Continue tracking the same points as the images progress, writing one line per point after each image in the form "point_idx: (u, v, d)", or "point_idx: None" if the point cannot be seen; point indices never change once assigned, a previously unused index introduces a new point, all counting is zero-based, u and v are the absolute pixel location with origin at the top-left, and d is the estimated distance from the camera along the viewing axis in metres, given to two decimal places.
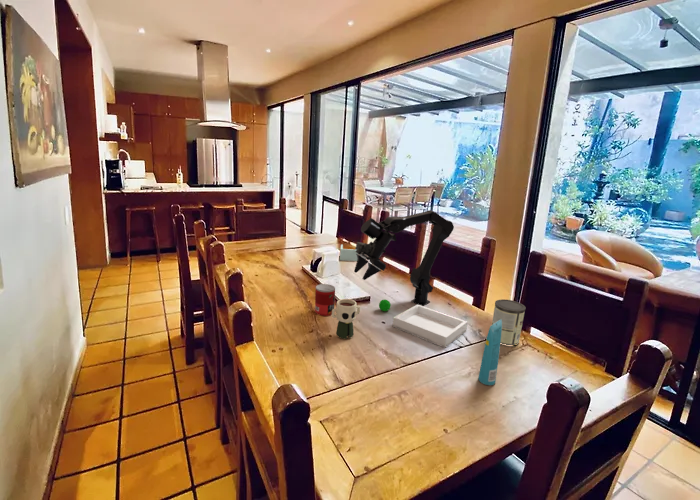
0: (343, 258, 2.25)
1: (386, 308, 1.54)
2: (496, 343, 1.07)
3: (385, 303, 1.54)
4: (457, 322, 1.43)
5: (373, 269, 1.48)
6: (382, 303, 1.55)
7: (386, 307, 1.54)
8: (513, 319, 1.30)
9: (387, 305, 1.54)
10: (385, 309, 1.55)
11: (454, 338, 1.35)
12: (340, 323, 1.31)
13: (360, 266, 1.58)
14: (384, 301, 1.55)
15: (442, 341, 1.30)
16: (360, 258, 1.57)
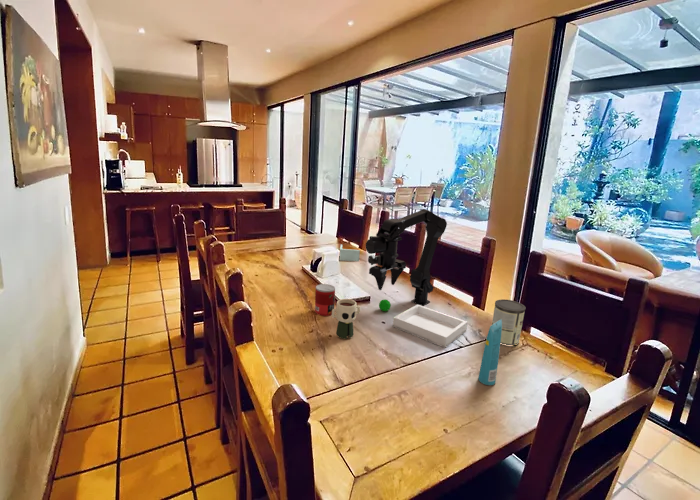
0: (343, 258, 2.25)
1: (386, 308, 1.54)
2: (496, 343, 1.07)
3: (385, 303, 1.54)
4: (457, 322, 1.43)
5: (380, 277, 1.48)
6: (382, 303, 1.55)
7: (386, 307, 1.54)
8: (513, 319, 1.30)
9: (387, 305, 1.54)
10: (385, 309, 1.55)
11: (454, 338, 1.35)
12: (340, 323, 1.31)
13: (394, 277, 1.57)
14: (384, 301, 1.55)
15: (442, 341, 1.30)
16: (392, 270, 1.57)
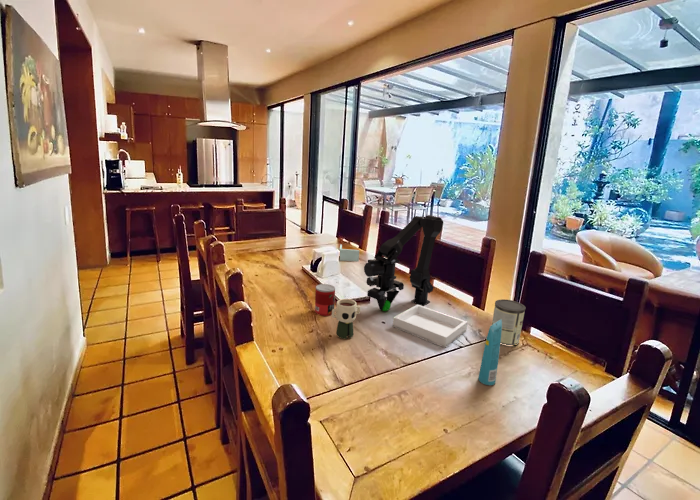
0: (342, 258, 2.25)
1: (386, 308, 1.54)
2: (496, 343, 1.07)
3: (385, 303, 1.54)
4: (457, 322, 1.43)
5: (381, 298, 1.52)
6: None
7: (386, 307, 1.54)
8: (513, 319, 1.30)
9: (387, 305, 1.54)
10: (385, 309, 1.55)
11: (454, 338, 1.35)
12: (340, 323, 1.31)
13: (390, 299, 1.58)
14: None
15: (442, 341, 1.30)
16: (387, 292, 1.58)
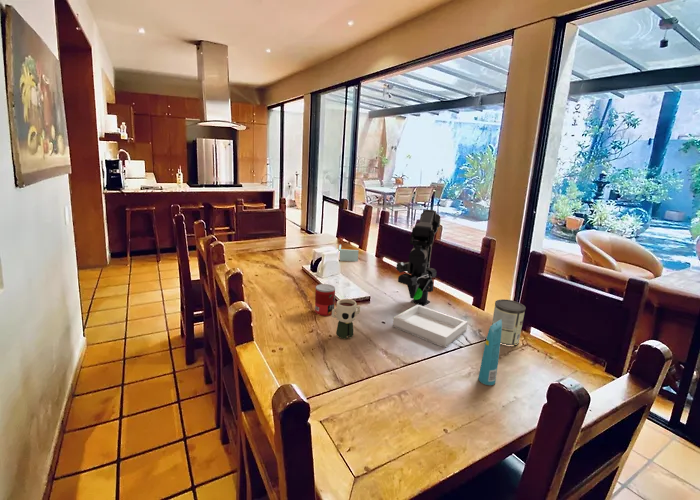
0: (341, 258, 2.24)
1: (417, 296, 1.42)
2: (496, 343, 1.07)
3: None
4: (457, 322, 1.43)
5: (412, 285, 1.40)
6: None
7: (418, 295, 1.42)
8: (513, 319, 1.30)
9: (419, 293, 1.42)
10: (416, 297, 1.42)
11: (454, 338, 1.35)
12: (340, 323, 1.31)
13: (421, 287, 1.45)
14: None
15: (442, 341, 1.30)
16: (418, 279, 1.46)
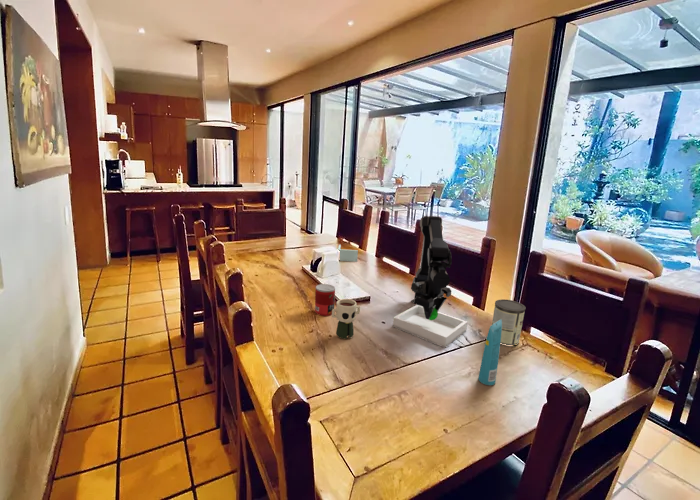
0: (341, 258, 2.24)
1: (433, 317, 1.39)
2: (496, 343, 1.07)
3: None
4: (457, 322, 1.43)
5: None
6: None
7: (434, 316, 1.39)
8: (513, 319, 1.30)
9: (434, 313, 1.39)
10: (432, 318, 1.39)
11: (454, 338, 1.35)
12: (340, 323, 1.31)
13: (436, 307, 1.42)
14: None
15: (442, 341, 1.30)
16: (433, 298, 1.43)
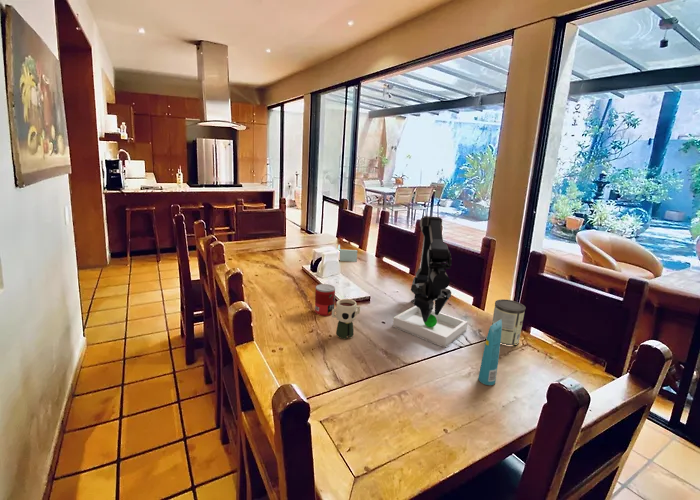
0: (340, 259, 2.24)
1: (432, 324, 1.40)
2: (496, 343, 1.07)
3: (431, 318, 1.40)
4: (457, 322, 1.43)
5: (426, 309, 1.35)
6: (428, 318, 1.40)
7: (433, 323, 1.40)
8: (513, 319, 1.30)
9: (434, 321, 1.40)
10: (431, 325, 1.40)
11: (454, 338, 1.35)
12: (340, 323, 1.31)
13: (439, 307, 1.44)
14: (430, 316, 1.41)
15: (442, 341, 1.30)
16: (435, 298, 1.45)
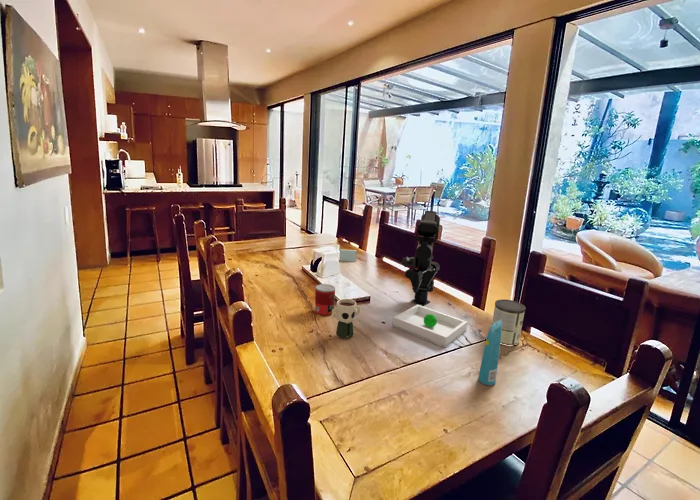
0: None
1: (432, 324, 1.40)
2: (496, 343, 1.07)
3: (431, 318, 1.40)
4: (457, 322, 1.43)
5: (416, 280, 1.45)
6: (428, 318, 1.40)
7: (433, 323, 1.40)
8: (513, 319, 1.30)
9: (433, 321, 1.40)
10: (431, 325, 1.40)
11: (454, 338, 1.35)
12: (340, 323, 1.31)
13: (428, 279, 1.53)
14: (430, 316, 1.41)
15: (442, 341, 1.30)
16: (425, 271, 1.54)
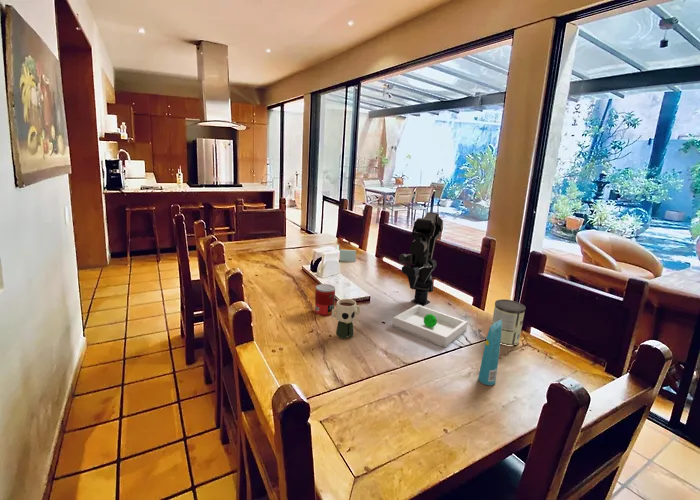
0: None
1: (432, 324, 1.40)
2: (496, 343, 1.07)
3: (431, 318, 1.40)
4: (457, 322, 1.43)
5: (412, 276, 1.48)
6: (428, 318, 1.40)
7: (433, 323, 1.40)
8: (513, 319, 1.30)
9: (433, 321, 1.40)
10: (431, 325, 1.40)
11: (454, 338, 1.35)
12: (340, 323, 1.31)
13: (425, 276, 1.56)
14: (430, 316, 1.41)
15: (442, 341, 1.30)
16: (422, 268, 1.57)
